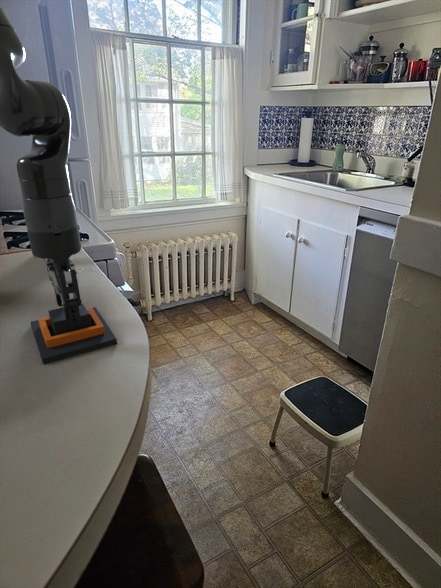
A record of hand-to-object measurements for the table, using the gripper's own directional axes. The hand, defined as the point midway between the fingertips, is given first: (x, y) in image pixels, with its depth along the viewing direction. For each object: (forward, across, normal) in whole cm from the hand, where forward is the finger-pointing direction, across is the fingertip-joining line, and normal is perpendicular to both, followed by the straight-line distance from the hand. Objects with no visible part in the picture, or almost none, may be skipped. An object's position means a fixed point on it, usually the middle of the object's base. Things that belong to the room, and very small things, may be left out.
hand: (69, 314), depth 69 cm
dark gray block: (+3, 0, 0) cm, 3 cm away
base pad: (+4, 0, 0) cm, 4 cm away
